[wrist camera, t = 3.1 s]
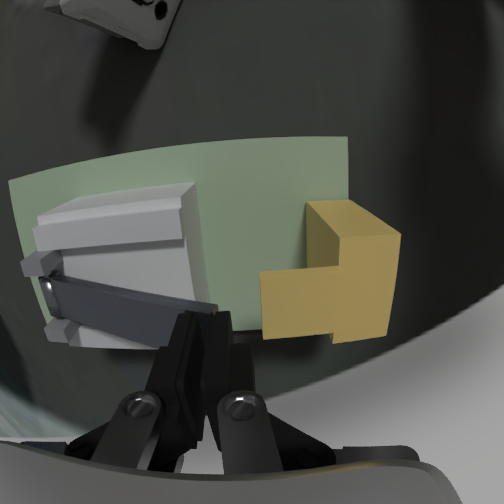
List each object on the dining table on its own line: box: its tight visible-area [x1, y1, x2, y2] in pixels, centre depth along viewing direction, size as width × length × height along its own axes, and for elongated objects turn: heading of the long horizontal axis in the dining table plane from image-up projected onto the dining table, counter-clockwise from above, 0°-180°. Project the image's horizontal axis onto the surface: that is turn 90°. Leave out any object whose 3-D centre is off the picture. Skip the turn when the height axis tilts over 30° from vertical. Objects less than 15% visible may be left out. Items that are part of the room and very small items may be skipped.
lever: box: [38, 270, 219, 349], centre depth 14 cm, size 12×2×1 cm, turn 94°
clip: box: [259, 200, 401, 344], centre depth 17 cm, size 6×6×8 cm
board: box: [8, 137, 348, 349], centre depth 18 cm, size 26×14×9 cm, turn 94°
